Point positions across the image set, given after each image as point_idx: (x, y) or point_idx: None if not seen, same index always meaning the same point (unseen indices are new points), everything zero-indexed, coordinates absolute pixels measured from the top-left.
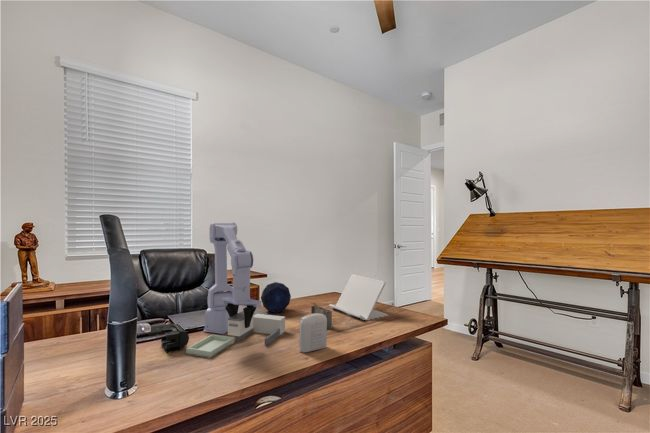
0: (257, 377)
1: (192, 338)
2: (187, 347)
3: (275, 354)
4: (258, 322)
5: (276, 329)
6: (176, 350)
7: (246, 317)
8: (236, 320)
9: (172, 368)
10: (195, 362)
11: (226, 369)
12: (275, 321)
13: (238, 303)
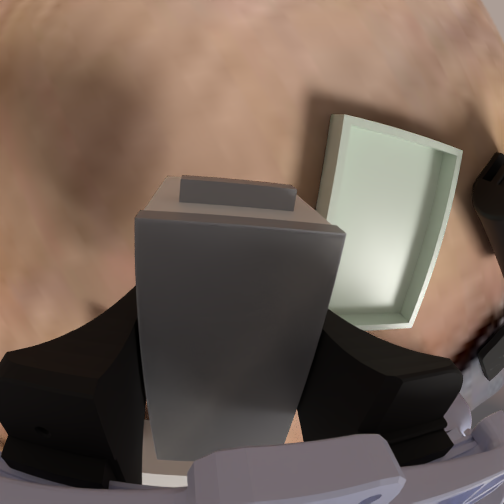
0: (21, 8)
1: (463, 298)
2: (461, 157)
3: (31, 242)
4: None
5: (147, 438)
6: (482, 173)
7: (103, 323)
8: (197, 216)
9: (421, 9)
10: (372, 59)
11: (180, 10)
12: (151, 466)
13: (184, 491)
